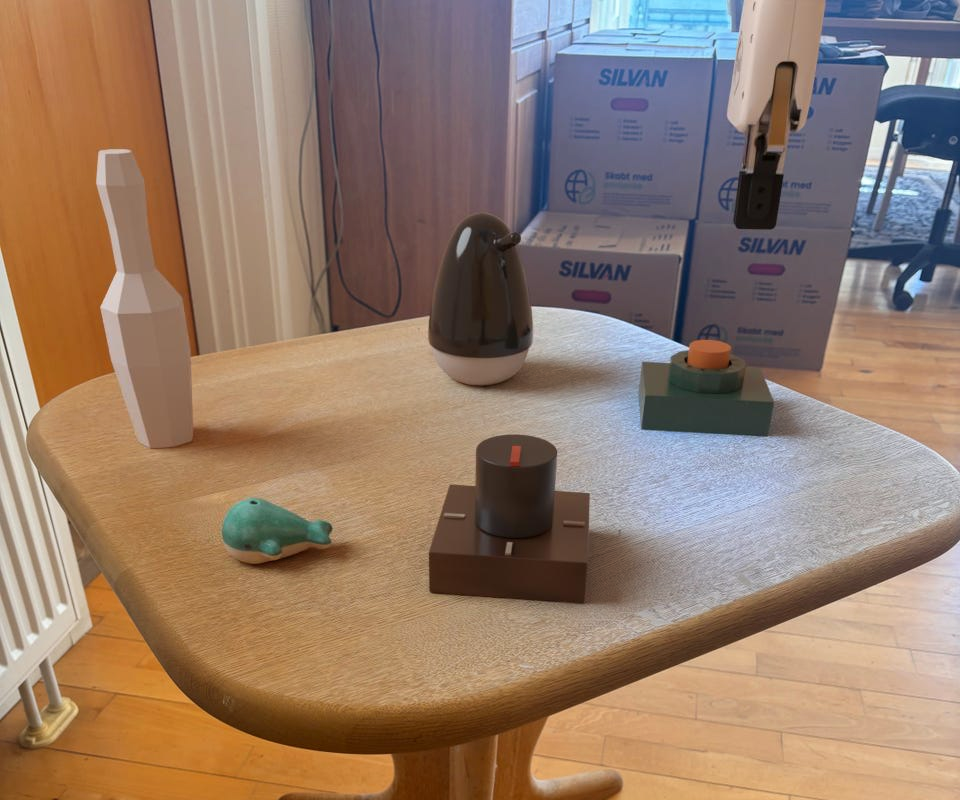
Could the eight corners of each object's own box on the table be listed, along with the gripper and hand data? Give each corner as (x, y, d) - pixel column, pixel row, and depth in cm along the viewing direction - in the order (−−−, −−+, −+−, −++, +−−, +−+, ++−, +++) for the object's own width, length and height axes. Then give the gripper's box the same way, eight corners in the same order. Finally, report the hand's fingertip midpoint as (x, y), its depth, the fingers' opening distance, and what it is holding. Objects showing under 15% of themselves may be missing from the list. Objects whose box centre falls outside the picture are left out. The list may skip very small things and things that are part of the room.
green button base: (754, 400, 92) (764, 348, 89) (767, 437, 85) (778, 381, 82) (638, 394, 93) (644, 342, 90) (641, 430, 86) (647, 374, 83)
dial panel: (586, 530, 70) (590, 490, 68) (584, 603, 62) (588, 560, 60) (449, 521, 71) (449, 481, 69) (429, 592, 63) (428, 549, 61)
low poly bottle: (136, 457, 79) (76, 160, 67) (120, 430, 84) (61, 147, 71) (213, 443, 82) (169, 155, 69) (193, 418, 86) (149, 143, 74)
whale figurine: (232, 531, 69) (225, 483, 67) (336, 530, 69) (332, 482, 67) (218, 573, 64) (210, 522, 62) (330, 572, 65) (325, 521, 62)
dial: (478, 500, 67) (479, 427, 64) (553, 504, 67) (558, 431, 64) (471, 536, 63) (472, 460, 60) (551, 540, 62) (556, 464, 59)
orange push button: (725, 359, 88) (728, 340, 87) (730, 373, 85) (733, 353, 84) (685, 357, 88) (688, 338, 87) (688, 371, 85) (691, 351, 84)
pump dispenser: (469, 403, 90) (471, 230, 82) (409, 371, 97) (404, 209, 89) (553, 382, 95) (563, 217, 87) (490, 353, 102) (493, 197, 94)
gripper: (728, -48, 74) (699, 209, 85) (751, -56, 62) (714, 246, 72) (828, -50, 74) (787, 210, 84) (872, -57, 61) (817, 248, 72)
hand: (753, 226), depth 78 cm, fingers closed
